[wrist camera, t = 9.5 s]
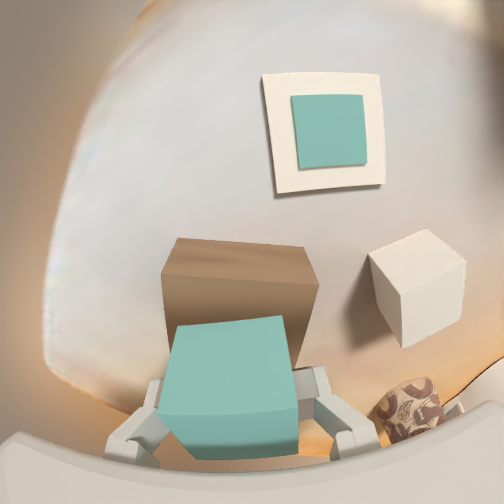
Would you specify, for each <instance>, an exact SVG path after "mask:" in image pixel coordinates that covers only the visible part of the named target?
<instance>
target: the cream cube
mask: <svg viewBox="0 0 504 504" xmlns="http://www.w3.org/2000/svg"><path fill="white" fill-rule="evenodd" d="M368 257H369V262H370V267H371V272H372V278H373V284H374V290H375V296H376V303H377V307H378V308H379V310H380V312H381V313H382V315H383V317H384V318H385V320H386V322H387V323H388V325H389V327H390V328H391V330H392V332H393V334H394V335H395V337H396V339H397V341H398V343H399V344H400V346H401V348H402V349H405V348H407V347H409V346H411V345H413V344H415V343H417V342H419V341H421V340H423V339H425V338H427V337H428V336H430V335H432V334H434V333H436V332H438V331H440V330H441V329H443V328H445V327H447V326H448V325H450V324H452V323H454V322H455V321H457V320H459V319H460V317H461V311H462V304H463V296H464V288H465V277H466V264H467V261H466V260H465V259H463V258H462V257H461V256H460V255H459V254H457V253H456V252H455V251H454V250H453V249H451V248H450V247H449V246H448V245H447V244H445V243H444V242H443V241H442V240H440V239H439V238H438V237H436V236H435V235H434V234H433V233H431V232H430V231H429V230H427V229H424V230H421V231H419V232H417V233H415V234H412V235H410V236H408V237H405V238H403V239H401V240H398V241H396V242H394V243H391V244H389V245H387V246H384V247H382V248H380V249H377V250H375V251H372V252H370V253H368Z"/></svg>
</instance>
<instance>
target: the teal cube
mask: <svg viewBox="0 0 504 504" xmlns="http://www.w3.org/2000/svg"><path fill="white" fill-rule="evenodd" d="M157 415H158V416H159V418H160V419H161V420H162V421H163V423H164V424H165V425H166V426H167V428H168V429H169V430H170V431H171V432H172V433H173V435H174V436H175V437H176V438H177V439H178V440H179V441H180V443H181V444H182V445H183V446H184V447H185V448H186V449H187V450H188V451H189V452H190V453H191V454H192V456H193V457H194V458H195V459H201V460H233V459H235V460H236V459H254V458H268V457H277V456H286V455H293V454H298V403H297V397H296V391H295V385H294V379H293V373H292V367H291V362H290V356H289V350H288V345H287V339H286V334H285V328H284V323H283V317H282V315H279V316H271V317H264V318H256V319H247V320H238V321H229V322H219V323H209V324H197V325H185V326H177V330H176V334H175V338H174V342H173V346H172V350H171V354H170V358H169V362H168V366H167V370H166V374H165V379H164V383H163V387H162V392H161V396H160V401H159V406H158V410H157Z"/></svg>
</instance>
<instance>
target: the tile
mask: <svg viewBox="0 0 504 504" xmlns="http://www.w3.org/2000/svg"><path fill="white" fill-rule="evenodd" d="M262 82H263V89H264V96H265V103H266V110H267V117H268V125H269V132H270V140H271V148H272V156H273V165H274V173H275V182H276V191H277V194H278V193H286V192H295V191H304V190H314V189H324V188H334V187H346V186H358V185H372V184H385V181H386V169H385V135H384V119H383V107H382V97H381V88H380V80H379V75H377V74H365V73H348V72H295V73H278V74H265V75H262Z"/></svg>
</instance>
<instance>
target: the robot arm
mask: <svg viewBox="0 0 504 504" xmlns="http://www.w3.org/2000/svg"><path fill="white" fill-rule="evenodd" d="M292 373H293V379H294V385H295V391H296V397H297V403H298V420H305V419H312V418H314V420H315V421H316V422H317V423H318V424H319V425H320V426H321V427H322V428H323V429H324V430H325V431H326V432H327V433H328V434H329V435H330V436H331V437H332V438H333V439H334V442H333V445H332V449H331V452H330V460H331V461H330V462H325V463H320V464H315V465H309V466H303V467H296V468H288V469H280V470H271V471H257V472H235V473H211V472H188V471H176V470H166V469H160V464H161V463H160V461H159V460H158V459H156V458H155V457H154V456H153V455H152V453H153V452H154V451H155V449H156V448H157V447H158V446H159V444H160V443H161V442H162V441H163V440H164V438H165V437H166V436H167V434H168V433H169V432H170V430H169V429H168V428H167V426H166V425H165V424H164V423H163V421H162V420H161V419H160V418H159V416H158V415H157V410H158V406H159V401H160V396H161V392H162V387H163V383H164V379H160V378H152V379H151V380H150V382H149V386H148V389H147V393H146V397H145V401H144V405H143V407H139V408H138V409H137V410H136V411H135V412H134V413H133V414H132V415H131V416H130V417H129V418H128V419H127V420H126V421H125V422H124V423H123V424H121V426H119V427H118V428H117V429H116V430H115V431H114V432H113V433H112V434H111V435H110V436H109V438H108V441H107V445H106V449H105V452H104V456H103V458H99V457H95V456H92V455H88V454H84V453H81V452H78V451H74V450H71V449H68V448H65V447H62V446H60V445H57V444H54V443H51V442H49V441H46V440H43V439H41V438H38V437H36V436H34V435H31V434H29V433H26V432H24V431H19V432H17V433H15V434H14V435H12V436H11V437H10V438H8V439H7V440H5V441H4V442H3V443H2V444H1V446H0V504H504V358H502V359H501V360H499V361H498V362H496V363H495V364H494V365H492V366H491V367H490V368H488V369H487V370H486V371H485V372H484V373H482V374H481V375H480V376H479V377H478V378H477V379H475V380H474V381H473V382H472V383H471V384H470V385H469V386H468V387H467V388H466V389H465V390H463V391H462V392H461V393H460V394H459V395H458V396H456V397H455V398H453V399H452V400H451V401H449V402H448V403H446V404H445V405H444V406H443V407H442V411H443V413H444V415H445V419H446V422H445V423H443V424H441V425H439V426H437V427H434V428H432V429H430V430H428V431H425V432H423V433H421V434H418V435H416V436H413V437H411V438H408V439H406V440H403V441H400V442H397V443H395V444H392V445H389V446H386V447H383V448H381V445H380V441H379V438H378V435H377V432H376V429H375V426H374V423H373V422H372V421H370V420H369V419H368V418H366V417H365V416H364V415H362V414H361V413H360V412H359V411H357V410H356V409H355V408H353V407H352V406H351V405H349V404H348V403H347V402H346V401H344V400H343V399H342V398H340V397H339V396H338V395H337V394H332V391H331V387H330V384H329V380H328V377H327V373H326V370H325V366H324V365H323V364H321V365H316V366H309V367H303V368H297V369H292Z"/></svg>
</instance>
